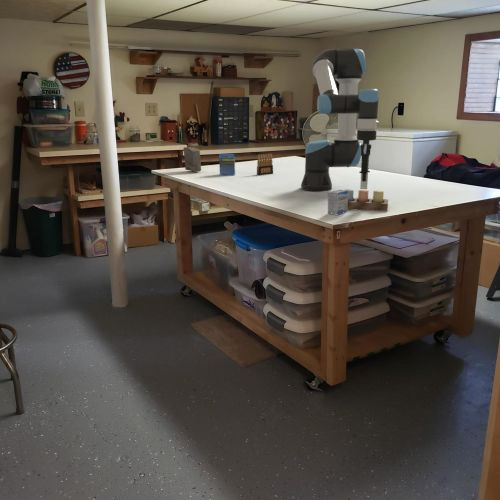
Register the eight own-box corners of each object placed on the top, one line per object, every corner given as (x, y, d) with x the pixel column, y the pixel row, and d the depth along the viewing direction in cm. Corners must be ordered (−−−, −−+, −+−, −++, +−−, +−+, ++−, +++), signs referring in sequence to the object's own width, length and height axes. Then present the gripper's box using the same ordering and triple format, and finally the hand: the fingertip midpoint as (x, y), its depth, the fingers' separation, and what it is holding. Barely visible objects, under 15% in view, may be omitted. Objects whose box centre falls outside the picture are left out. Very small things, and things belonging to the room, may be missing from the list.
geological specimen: (201, 172, 310) (200, 147, 306) (192, 173, 307) (191, 148, 302) (193, 170, 319) (192, 146, 314) (184, 171, 315) (183, 146, 311)
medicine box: (336, 215, 201) (337, 193, 199) (327, 213, 204) (327, 192, 202) (347, 211, 207) (348, 190, 204) (338, 210, 210) (338, 189, 207)
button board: (337, 208, 212) (337, 201, 211) (339, 204, 220) (339, 197, 219) (387, 211, 207) (387, 203, 206) (387, 206, 215) (388, 199, 214)
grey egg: (342, 203, 213) (343, 191, 212) (343, 201, 217) (344, 189, 215) (352, 204, 212) (353, 191, 211) (353, 202, 216) (354, 189, 214)
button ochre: (372, 205, 210) (373, 192, 209) (373, 203, 214) (373, 190, 212) (382, 205, 209) (383, 192, 208) (382, 203, 213) (383, 190, 211)
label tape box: (235, 174, 303) (235, 153, 299) (234, 175, 299) (234, 154, 295) (220, 174, 303) (220, 153, 300) (219, 175, 300) (219, 154, 296)
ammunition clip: (271, 173, 305) (271, 152, 301) (273, 173, 303) (273, 153, 300) (256, 175, 299) (256, 154, 295) (258, 175, 297) (258, 154, 294)
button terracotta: (357, 204, 212) (358, 191, 210) (358, 202, 215) (358, 189, 214) (367, 204, 211) (368, 192, 209) (368, 202, 214) (368, 190, 213)
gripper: (375, 131, 197) (372, 192, 204) (377, 128, 209) (373, 186, 216) (356, 130, 199) (353, 191, 206) (358, 128, 211) (355, 185, 218)
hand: (363, 188), depth 211 cm, fingers closed
